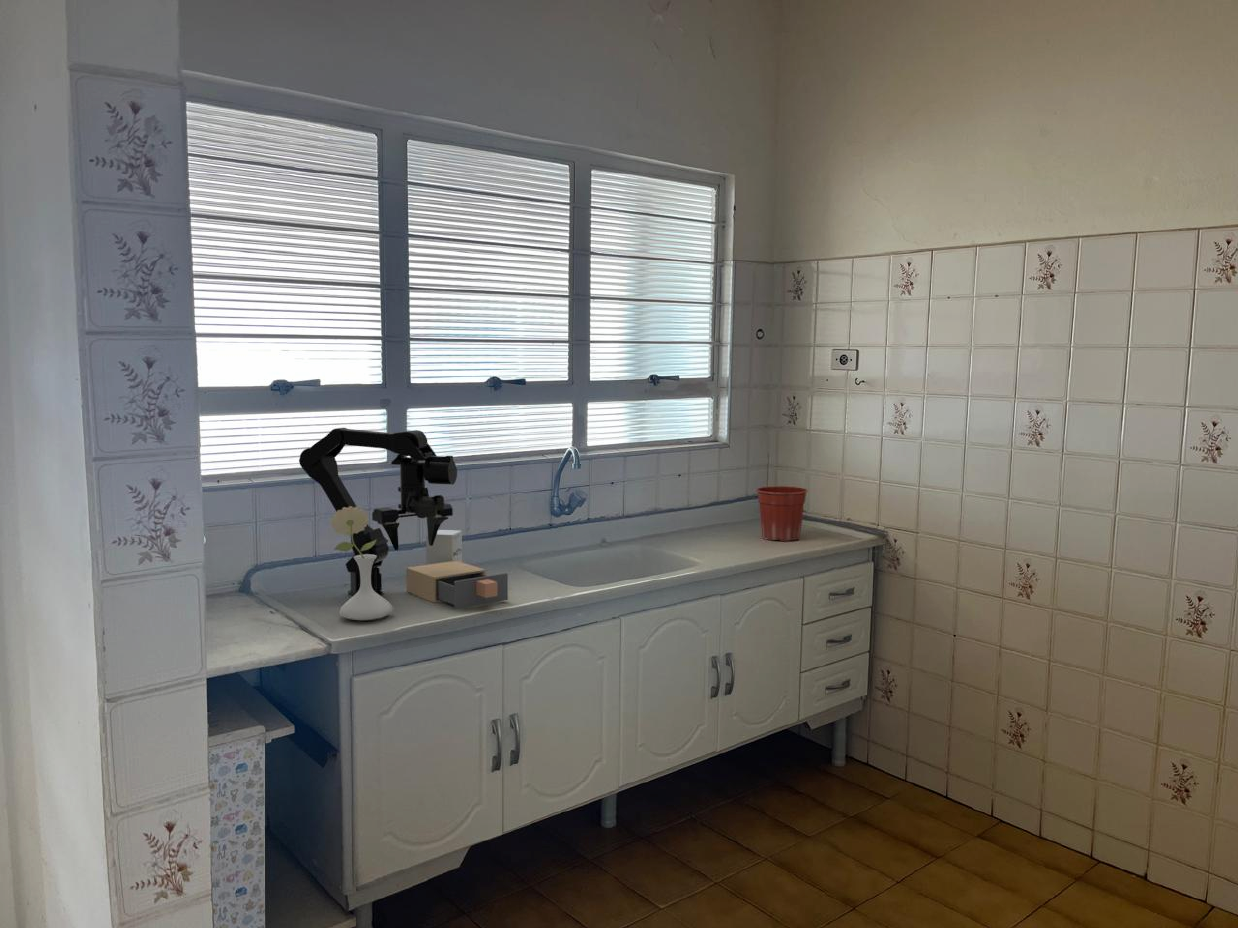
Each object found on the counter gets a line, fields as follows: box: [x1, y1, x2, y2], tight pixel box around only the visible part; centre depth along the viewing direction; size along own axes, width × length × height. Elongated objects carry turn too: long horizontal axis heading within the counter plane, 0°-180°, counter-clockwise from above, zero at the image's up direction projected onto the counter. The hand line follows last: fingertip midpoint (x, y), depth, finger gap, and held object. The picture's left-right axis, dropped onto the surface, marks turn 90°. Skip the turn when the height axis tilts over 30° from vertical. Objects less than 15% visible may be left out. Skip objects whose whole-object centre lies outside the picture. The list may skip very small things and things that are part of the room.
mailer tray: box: [436, 572, 509, 610], centre depth 228 cm, size 14×19×6 cm
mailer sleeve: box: [405, 561, 486, 604], centre depth 237 cm, size 14×14×6 cm
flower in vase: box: [330, 506, 394, 621], centre depth 212 cm, size 13×11×25 cm
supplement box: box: [425, 529, 463, 565], centre depth 251 cm, size 7×7×13 cm
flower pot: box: [755, 485, 809, 542], centre depth 312 cm, size 16×16×16 cm
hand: (413, 547), depth 231 cm, fingers open, 9 cm apart
